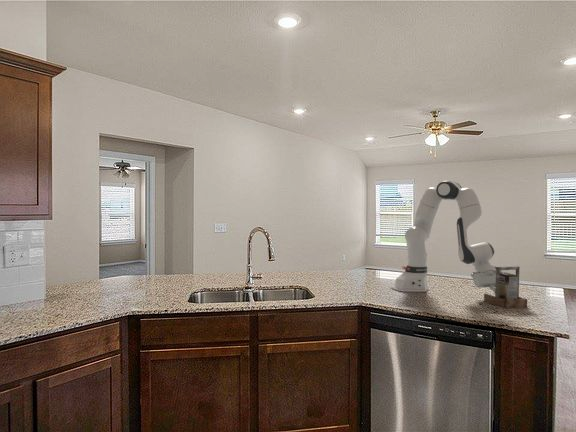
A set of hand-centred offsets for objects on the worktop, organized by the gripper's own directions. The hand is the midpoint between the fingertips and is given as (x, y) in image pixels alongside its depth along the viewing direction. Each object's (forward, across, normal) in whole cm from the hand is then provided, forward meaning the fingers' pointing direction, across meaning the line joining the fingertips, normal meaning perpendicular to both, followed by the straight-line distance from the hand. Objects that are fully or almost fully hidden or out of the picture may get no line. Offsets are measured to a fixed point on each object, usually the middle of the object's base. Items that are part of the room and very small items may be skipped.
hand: (497, 292), depth 221 cm
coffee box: (+7, +1, 0) cm, 7 cm away
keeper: (+7, 0, 0) cm, 7 cm away
